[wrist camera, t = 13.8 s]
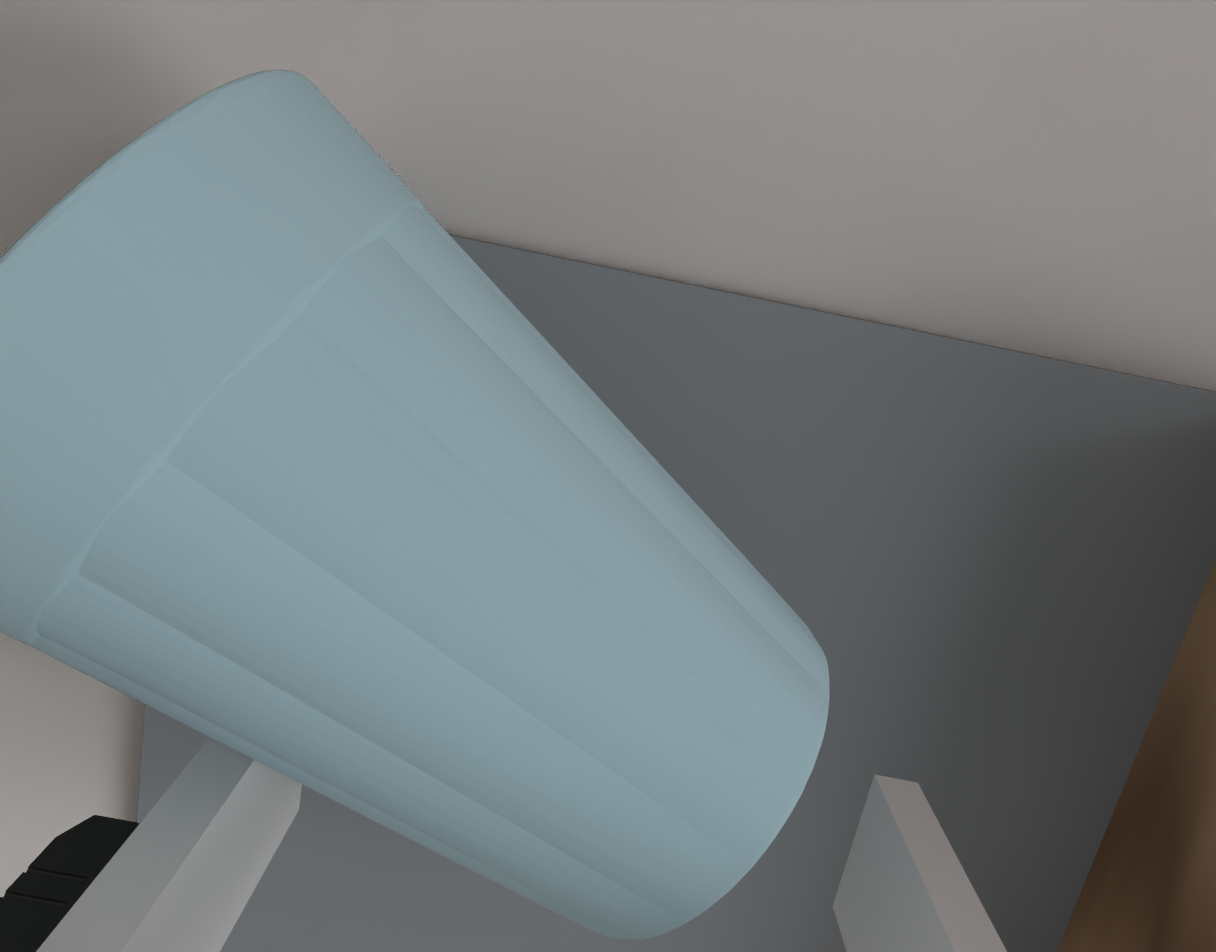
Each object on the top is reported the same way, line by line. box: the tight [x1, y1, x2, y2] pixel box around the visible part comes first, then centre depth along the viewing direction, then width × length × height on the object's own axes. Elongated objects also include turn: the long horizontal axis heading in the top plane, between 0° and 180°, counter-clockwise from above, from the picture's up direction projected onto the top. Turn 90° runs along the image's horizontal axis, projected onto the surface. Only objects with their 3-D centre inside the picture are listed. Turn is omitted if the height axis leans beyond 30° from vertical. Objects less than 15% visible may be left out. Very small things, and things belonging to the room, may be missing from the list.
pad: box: [137, 235, 1216, 952], centre depth 18 cm, size 19×19×1 cm
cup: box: [0, 70, 829, 939], centre depth 13 cm, size 8×8×10 cm
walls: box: [1057, 560, 1216, 952], centre depth 16 cm, size 20×20×5 cm
